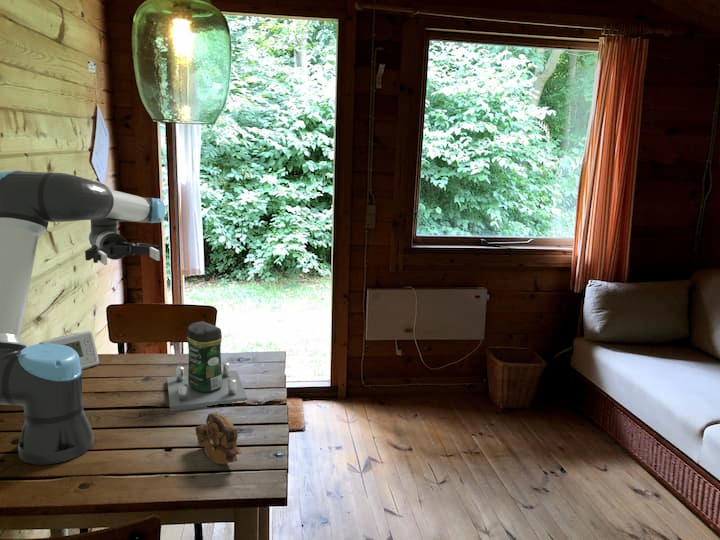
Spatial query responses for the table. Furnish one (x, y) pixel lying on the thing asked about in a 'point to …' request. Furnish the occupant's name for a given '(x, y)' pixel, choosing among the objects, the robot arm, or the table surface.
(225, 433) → the wooden carving
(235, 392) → the base plate
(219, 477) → the table surface
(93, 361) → the digital clock
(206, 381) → the coffee jar
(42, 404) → the robot arm
